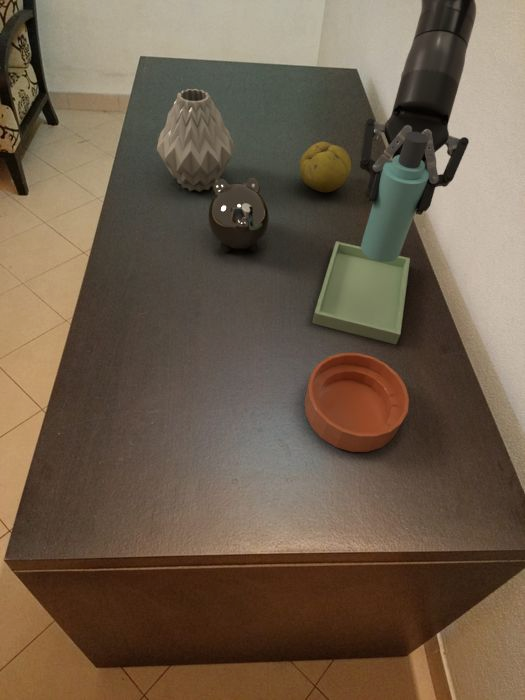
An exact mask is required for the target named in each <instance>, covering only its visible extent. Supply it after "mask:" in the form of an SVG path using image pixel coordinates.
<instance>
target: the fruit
mask: <svg viewBox="0 0 525 700" xmlns="http://www.w3.org/2000/svg"><path fill="white" fill-rule="evenodd" d="M351 169H352V162H351V158H350V155H349V154H348V152H347V151H346V149H344V148H343V147H342V146H339V145H336V144H332V143H331V142H327V141H318V142H317V143H313V144H312V145H311V146H310V147H309V148H307V150H306V151H305V152H304V153H303V154H302V157H301V159H300V160H299V172H300V178H301V180H302V182H303V183H304V184H305V185H306V186H308V187H309V188H310V189H312V190H314V191H317V192H320V193H330V192H333V191H336V190H338V189H339V188H341V187H342V186H343V185H344V184H345V183H346V182H347V180H348V178H349V175H350V173H351Z"/></svg>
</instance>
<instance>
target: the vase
mask: <svg viewBox="0 0 525 700" xmlns="http://www.w3.org/2000/svg"><path fill="white" fill-rule="evenodd" d="M176 95H177V97H176V99H175V101H173V105H172V107H171V109H170V110H169V112H168V113H167V117H166V121H165V125H164V127H163V129H162V130H161V131H160V133H159V136H158V138H157V142H158V143H157V147H156V151H157V153H158V155H159V156H160V157H161V159H162V161H163V163H164V165H165V166H166V169H167V170H168V171H169V173H170V174H171V175H172V177H173V179H176V182H177V184H180V185H181V188H182V189H187V190H188V191H190V192H192V191H197V192H201V191H203V190H206V191H209V190H210V189H211V188H213V185H214V182H215V181H216V180H217V179H220V177H222V176H223V175H224V173H225V170H226V167H227V165H228V164H229V162H230V159H231V158H232V155H233V153H234V150H235V148H236V145H235V143H234V141H233V139H232V136H231V134H230V132H229V130H228V129H227V128H226V126H225V124H224V121H223V118H222V115H221V111H219V110H218V108H217V107H216V105H215V102H214V101H213V100H212V99H211V96H210V94H209V92H206V91H204V89H197V88H194V89H191V88H187V89H186V90H185V89H184V90H183V89H181V92H178V93H177V94H176Z"/></svg>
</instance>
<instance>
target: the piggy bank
mask: <svg viewBox="0 0 525 700" xmlns="http://www.w3.org/2000/svg"><path fill="white" fill-rule="evenodd" d="M260 187H261V186H260V183H259V181H258V180H257V179H256V178H254V177H250V178H248V179H247V180H246V182H245V183H239V182H237V183H231V184H230V183H228V182H227V181H226V180H225V179H223V178H219V179H217V180H216V181H215V182H214V185H213V187H212V191H213V198H212V200H211V202H210V205H209V209H208V224H209V227H210V229H211V232H212V233H213V235H214V237H215V238H216V239H217V240H218V241H219V242H220V250H221V251H222V252H223V253H228V252H230V251H231V250H232V249H236V250H243V249H247V250H249V251H250V252H256V251H257V250H258V242H259V241H260V240H261V239H262V238H263V237H264V235H265V234H266V232H267V229H268V226H269V219H270V217H269V210H268V206H267V204H266V202H265V200H264V199H263V197H262V195H261V194H260V190H261V189H260Z"/></svg>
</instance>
